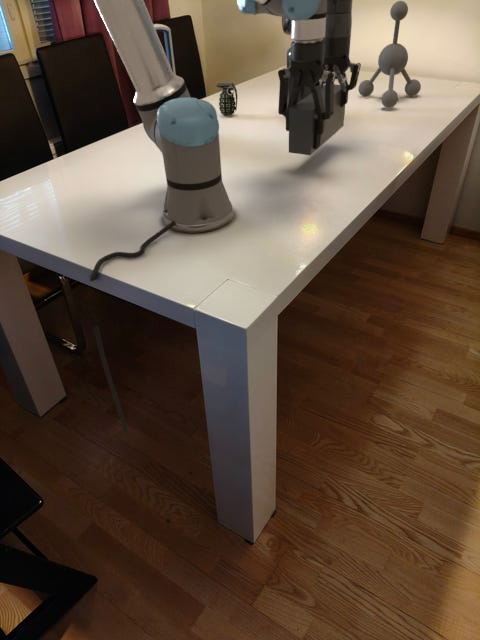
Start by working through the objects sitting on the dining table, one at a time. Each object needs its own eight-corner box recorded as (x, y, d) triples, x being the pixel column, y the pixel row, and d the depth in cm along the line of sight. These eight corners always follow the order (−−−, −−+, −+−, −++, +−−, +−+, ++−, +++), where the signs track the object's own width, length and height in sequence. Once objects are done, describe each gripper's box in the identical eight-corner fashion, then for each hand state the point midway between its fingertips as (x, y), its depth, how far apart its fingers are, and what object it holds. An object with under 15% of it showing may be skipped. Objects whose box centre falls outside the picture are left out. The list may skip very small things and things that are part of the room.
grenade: (217, 117, 168) (214, 86, 162) (221, 112, 172) (219, 82, 166) (235, 117, 166) (233, 86, 160) (239, 113, 171) (238, 82, 165)
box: (310, 155, 119) (312, 110, 112) (288, 152, 121) (289, 108, 115) (343, 125, 136) (346, 85, 129) (323, 123, 138) (325, 83, 132)
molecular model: (440, 102, 169) (459, -1, 151) (386, 111, 163) (400, 6, 145) (398, 88, 187) (412, -5, 168) (348, 96, 181) (356, 0, 162)
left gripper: (354, 38, 106) (345, 145, 120) (276, 36, 114) (276, 137, 128) (343, 44, 101) (335, 155, 115) (262, 41, 109) (263, 146, 123)
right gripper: (368, 31, 120) (361, 103, 131) (313, 30, 126) (311, 99, 137) (359, 36, 115) (352, 111, 126) (302, 35, 121) (300, 106, 131)
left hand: (304, 145), depth 122 cm, fingers closed on box, 6 cm apart
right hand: (331, 104), depth 131 cm, fingers closed on box, 6 cm apart
